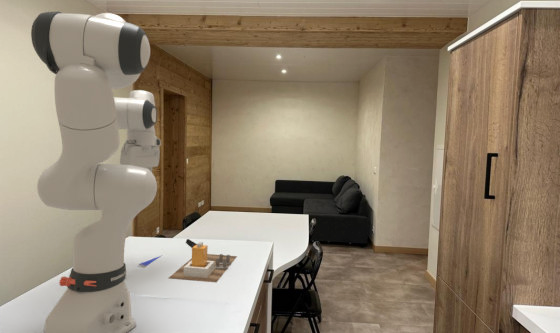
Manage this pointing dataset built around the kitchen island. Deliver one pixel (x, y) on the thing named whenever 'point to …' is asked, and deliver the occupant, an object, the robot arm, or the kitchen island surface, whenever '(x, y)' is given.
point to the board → (220, 267)
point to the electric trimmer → (190, 243)
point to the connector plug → (199, 255)
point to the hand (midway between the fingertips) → (140, 181)
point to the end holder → (199, 270)
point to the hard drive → (147, 262)
